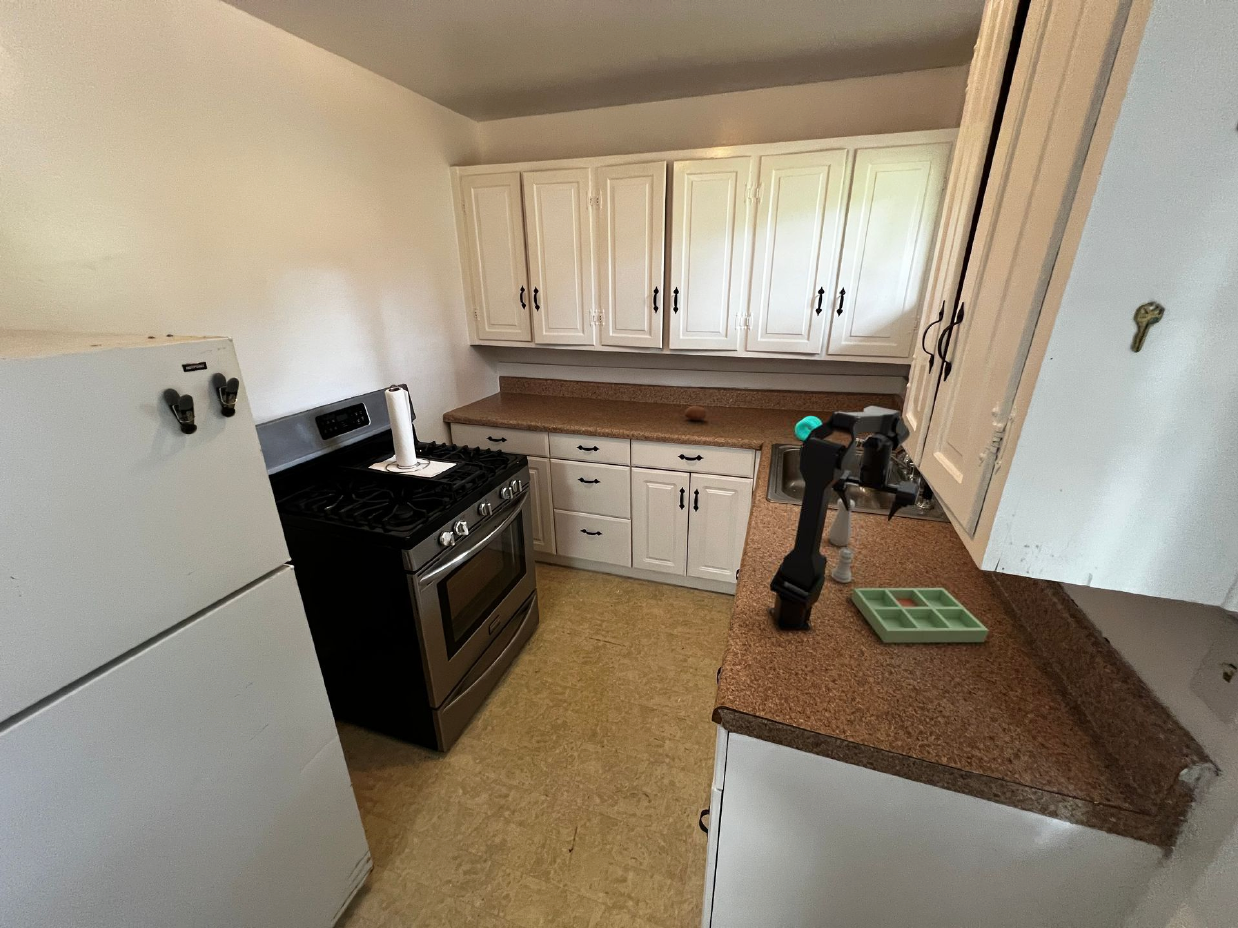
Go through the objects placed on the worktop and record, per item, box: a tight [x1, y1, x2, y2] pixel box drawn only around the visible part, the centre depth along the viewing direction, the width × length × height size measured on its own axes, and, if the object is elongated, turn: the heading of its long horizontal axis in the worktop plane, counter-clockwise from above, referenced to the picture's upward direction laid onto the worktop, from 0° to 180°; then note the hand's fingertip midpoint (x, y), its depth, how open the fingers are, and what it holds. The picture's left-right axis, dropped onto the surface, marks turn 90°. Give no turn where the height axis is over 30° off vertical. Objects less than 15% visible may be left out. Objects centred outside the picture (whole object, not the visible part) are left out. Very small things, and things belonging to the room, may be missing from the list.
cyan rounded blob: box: [794, 415, 823, 442], centre depth 216 cm, size 10×10×10 cm
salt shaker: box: [827, 498, 856, 547], centre depth 130 cm, size 6×6×13 cm
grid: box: [850, 587, 989, 644], centre depth 102 cm, size 21×14×3 cm
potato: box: [684, 405, 707, 422], centre depth 243 cm, size 8×11×8 cm
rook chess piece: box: [830, 546, 855, 584], centre depth 115 cm, size 4×4×8 cm
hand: (868, 515), depth 117 cm, fingers open, 9 cm apart
